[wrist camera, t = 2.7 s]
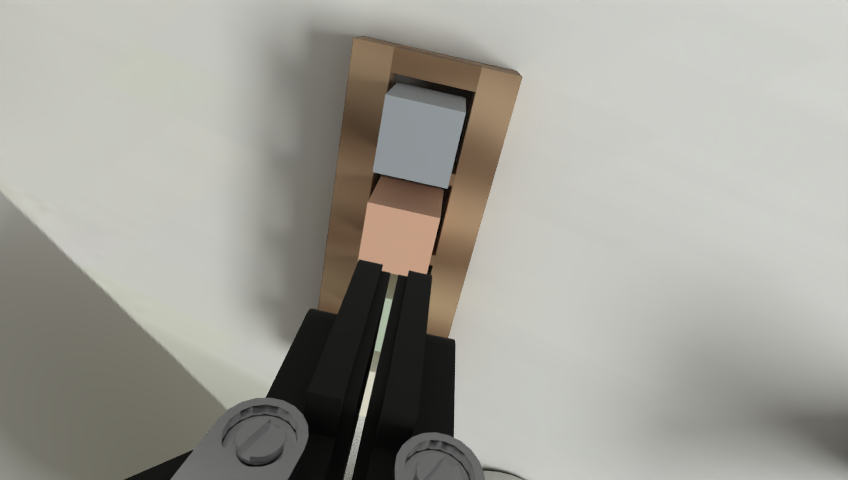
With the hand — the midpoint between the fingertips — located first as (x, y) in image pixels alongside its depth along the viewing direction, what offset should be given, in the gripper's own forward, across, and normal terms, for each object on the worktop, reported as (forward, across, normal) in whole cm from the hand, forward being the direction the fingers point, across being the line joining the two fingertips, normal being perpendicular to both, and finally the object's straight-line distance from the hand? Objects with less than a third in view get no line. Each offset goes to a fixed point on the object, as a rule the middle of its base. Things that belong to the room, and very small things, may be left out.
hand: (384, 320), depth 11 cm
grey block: (+21, 0, +1) cm, 21 cm away
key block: (+23, 0, +10) cm, 25 cm away
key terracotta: (+21, 0, +7) cm, 22 cm away
